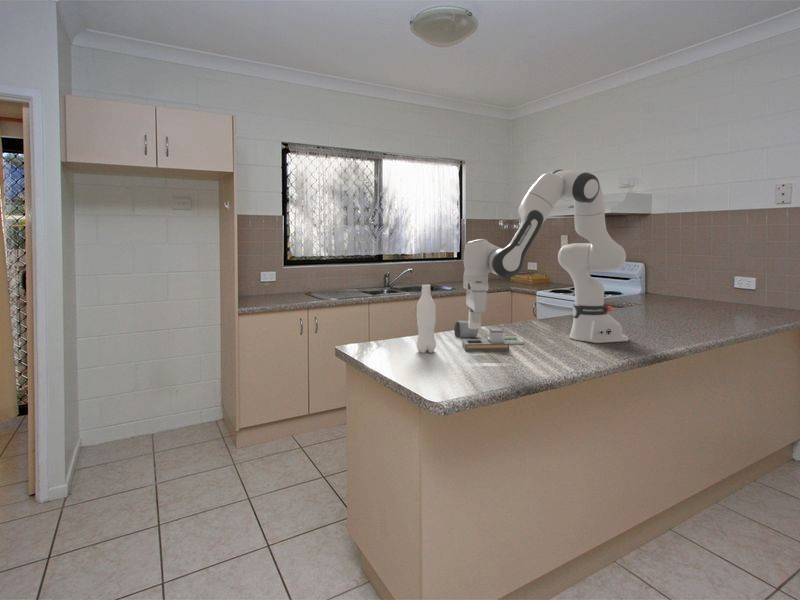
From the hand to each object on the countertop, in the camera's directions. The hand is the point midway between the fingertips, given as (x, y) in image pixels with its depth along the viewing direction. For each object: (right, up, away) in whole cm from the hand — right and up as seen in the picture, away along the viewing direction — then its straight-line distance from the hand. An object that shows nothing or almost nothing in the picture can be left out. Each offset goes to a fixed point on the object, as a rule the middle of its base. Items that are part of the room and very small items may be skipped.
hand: (474, 321), depth 181 cm
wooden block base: (+4, -11, +2) cm, 12 cm away
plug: (0, -3, 0) cm, 3 cm away
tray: (+14, -10, +13) cm, 21 cm away
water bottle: (-18, -12, +2) cm, 21 cm away
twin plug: (+8, -10, +2) cm, 13 cm away
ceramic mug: (-1, -8, +26) cm, 27 cm away
